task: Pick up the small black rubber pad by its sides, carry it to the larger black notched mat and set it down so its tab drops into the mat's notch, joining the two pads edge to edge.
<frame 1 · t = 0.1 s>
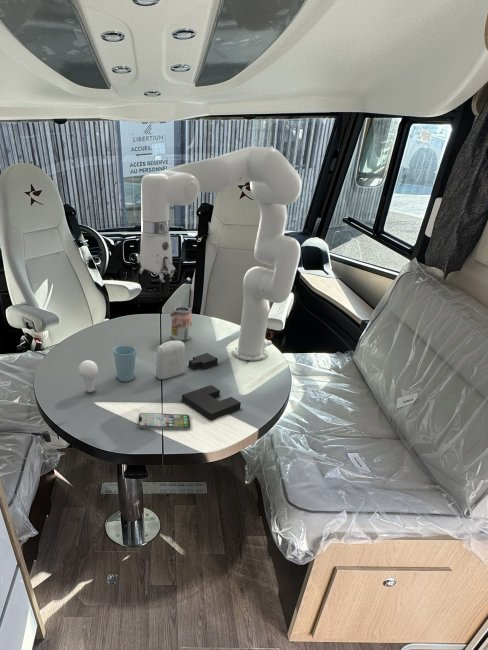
hand: (154, 291, 131), 31 cm above the table, tool pointing down, fingers open, 9 cm apart
base pad: (210, 405, 138), on the table
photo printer: (169, 375, 155), on the table
beverage can: (180, 338, 183), on the table
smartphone: (164, 423, 130), on the table
tab pad: (204, 364, 162), on the table
lightbulb: (90, 392, 145), on the table
cup: (125, 378, 153), on the table
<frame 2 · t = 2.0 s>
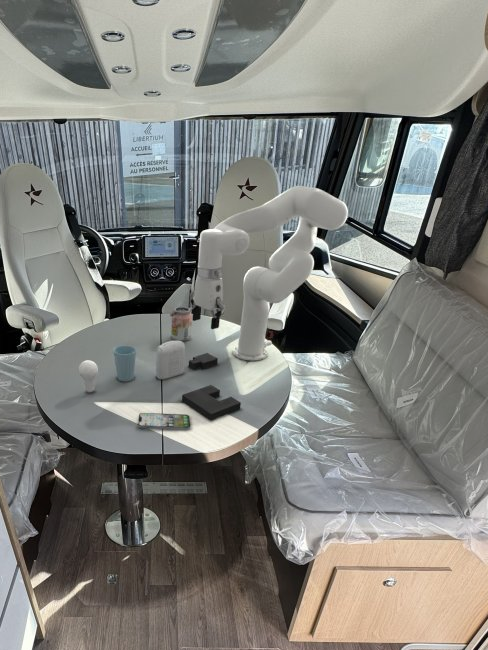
hand: (205, 324, 153), 15 cm above the table, tool pointing down, fingers open, 9 cm apart
nothing on the table moved.
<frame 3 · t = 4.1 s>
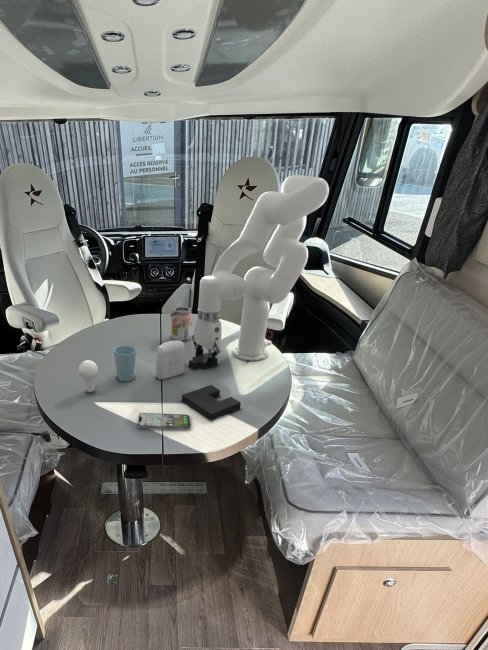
hand: (204, 362, 162), 1 cm above the table, tool pointing down, fingers closed on tab pad, 6 cm apart
tab pad: (204, 364, 162), on the table, touching gripper
everything else where it was.
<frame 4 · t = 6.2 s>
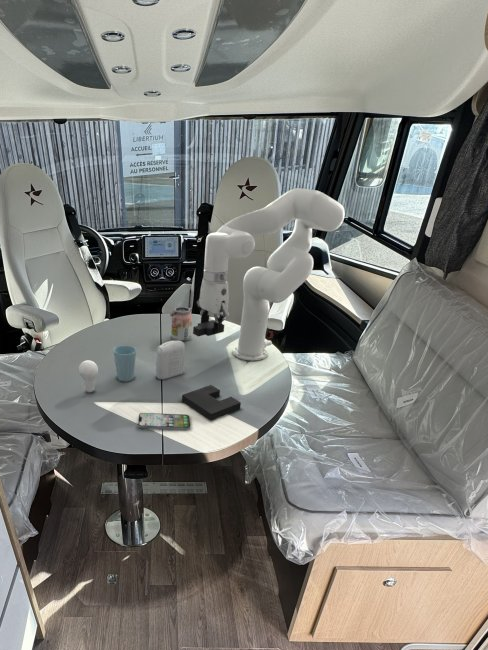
hand: (210, 329, 152), 14 cm above the table, tool pointing down, fingers closed on tab pad, 6 cm apart
tab pad: (210, 331, 153), point 13 cm above the table, touching gripper
everything else where it was.
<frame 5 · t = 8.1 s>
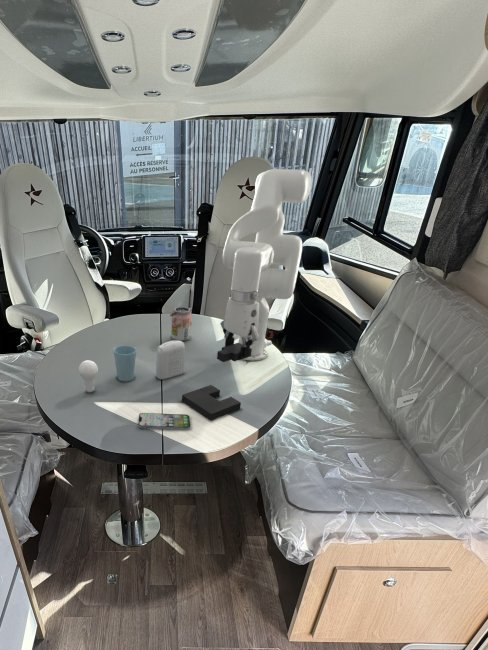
hand: (236, 353, 136), 14 cm above the table, tool pointing down, fingers closed on tab pad, 6 cm apart
tab pad: (235, 355, 136), point 13 cm above the table, touching gripper
everything else where it was.
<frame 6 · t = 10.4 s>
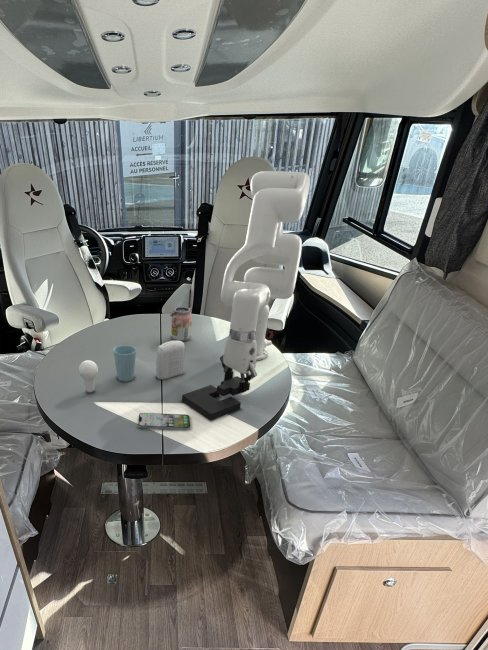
hand: (235, 387, 141), 3 cm above the table, tool pointing down, fingers closed on tab pad, 6 cm apart
tab pad: (234, 389, 141), point 3 cm above the table, touching gripper
everything else where it was.
when the fingers open (1 cm above the table, at t = 11.9 s): tab pad stays where it is, on the table.
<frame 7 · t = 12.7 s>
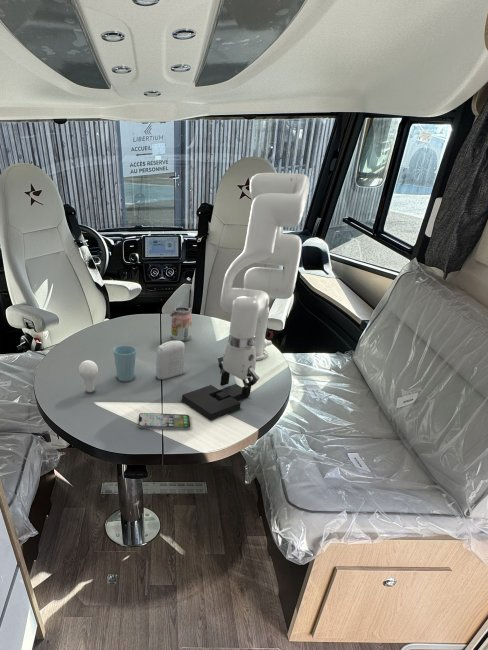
hand: (234, 390, 142), 2 cm above the table, tool pointing down, fingers open, 9 cm apart
tab pad: (233, 396, 143), on the table
everything else where it was.
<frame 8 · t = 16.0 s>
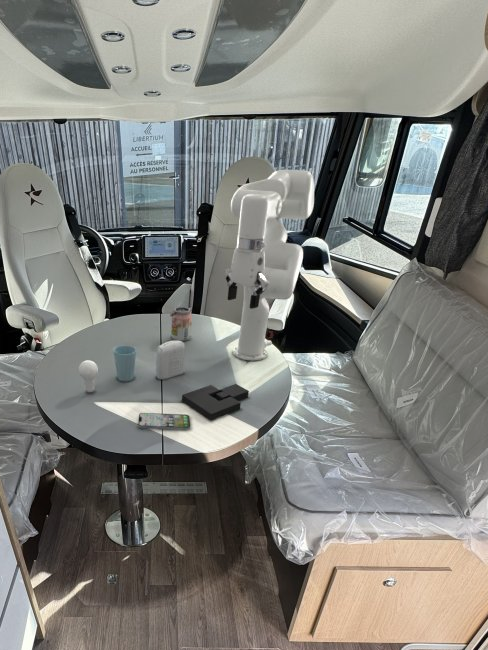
hand: (242, 303, 137), 26 cm above the table, tool pointing down, fingers open, 9 cm apart
nothing on the table moved.
at the end: tab pad 0.2 cm from the target spot on the table beside the base pad, on the table; tab pad tilted 0°; the gripper is holding nothing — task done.
